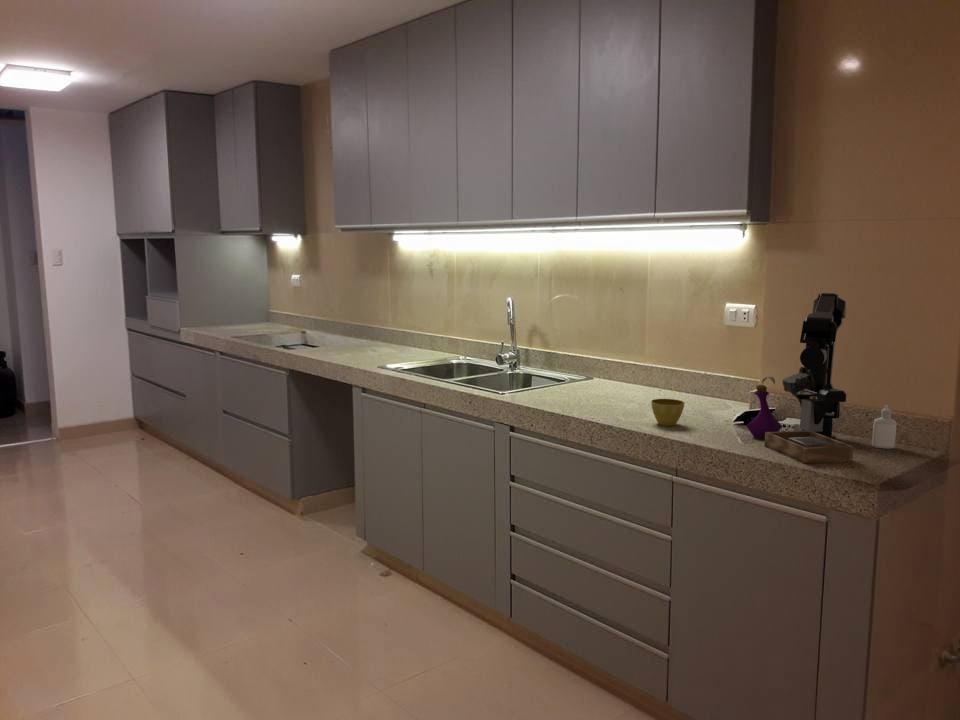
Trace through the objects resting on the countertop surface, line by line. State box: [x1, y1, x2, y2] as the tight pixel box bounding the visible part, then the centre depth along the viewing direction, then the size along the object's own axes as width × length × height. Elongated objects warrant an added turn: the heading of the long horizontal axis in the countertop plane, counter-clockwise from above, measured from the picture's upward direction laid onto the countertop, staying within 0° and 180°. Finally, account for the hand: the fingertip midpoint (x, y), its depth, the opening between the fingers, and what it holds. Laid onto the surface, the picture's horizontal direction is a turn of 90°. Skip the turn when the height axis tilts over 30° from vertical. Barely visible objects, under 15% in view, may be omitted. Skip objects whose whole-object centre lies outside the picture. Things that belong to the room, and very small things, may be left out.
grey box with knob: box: [799, 396, 823, 432], centre depth 205 cm, size 4×4×9 cm
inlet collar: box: [788, 437, 833, 448], centre depth 207 cm, size 8×8×3 cm
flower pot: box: [650, 398, 685, 427], centre depth 241 cm, size 10×10×7 cm
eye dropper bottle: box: [871, 404, 898, 450], centre depth 215 cm, size 4×6×12 cm
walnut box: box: [764, 430, 854, 464], centre depth 208 cm, size 18×14×4 cm
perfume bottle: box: [746, 376, 783, 440], centre depth 225 cm, size 8×8×18 cm
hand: (811, 422), depth 206 cm, fingers closed on grey box with knob, 4 cm apart
